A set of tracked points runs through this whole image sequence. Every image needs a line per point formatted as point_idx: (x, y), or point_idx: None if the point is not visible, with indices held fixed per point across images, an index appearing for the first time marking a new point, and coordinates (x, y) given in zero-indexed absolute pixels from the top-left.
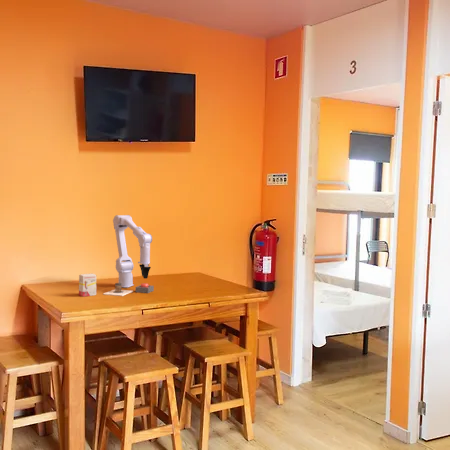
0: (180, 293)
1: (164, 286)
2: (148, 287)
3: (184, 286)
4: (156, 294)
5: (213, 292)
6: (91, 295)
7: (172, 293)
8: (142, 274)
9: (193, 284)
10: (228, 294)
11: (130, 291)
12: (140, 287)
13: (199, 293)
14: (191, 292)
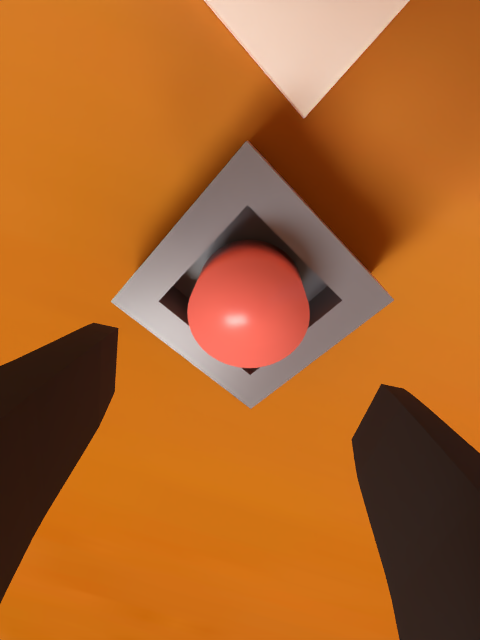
0: (69, 495)
1: None
2: (155, 320)
3: (321, 587)
4: (51, 331)
5: (72, 616)
6: None
7: None
8: (400, 419)
9: (356, 632)
10: (7, 636)
11: (268, 48)
12: (188, 214)
13: (52, 568)
14: (94, 551)
